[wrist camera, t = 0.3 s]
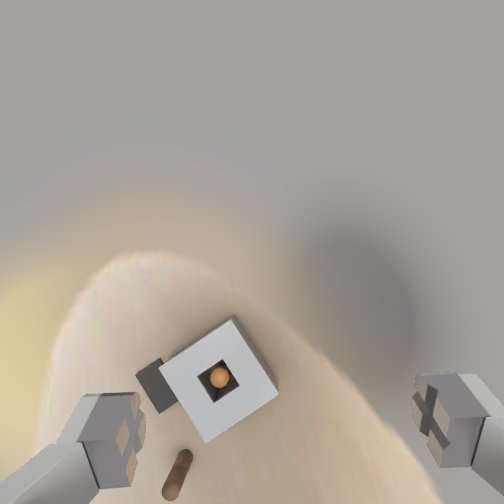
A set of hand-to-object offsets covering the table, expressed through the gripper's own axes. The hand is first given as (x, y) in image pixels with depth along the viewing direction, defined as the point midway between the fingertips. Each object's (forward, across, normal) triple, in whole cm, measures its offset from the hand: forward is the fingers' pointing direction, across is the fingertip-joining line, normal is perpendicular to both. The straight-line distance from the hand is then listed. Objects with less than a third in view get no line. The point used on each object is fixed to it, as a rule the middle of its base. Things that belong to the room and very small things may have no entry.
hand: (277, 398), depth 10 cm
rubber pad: (+41, -19, -38) cm, 59 cm away
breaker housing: (+42, -7, -36) cm, 55 cm away
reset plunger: (+39, -7, -34) cm, 52 cm away
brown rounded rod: (+35, -15, -49) cm, 62 cm away
